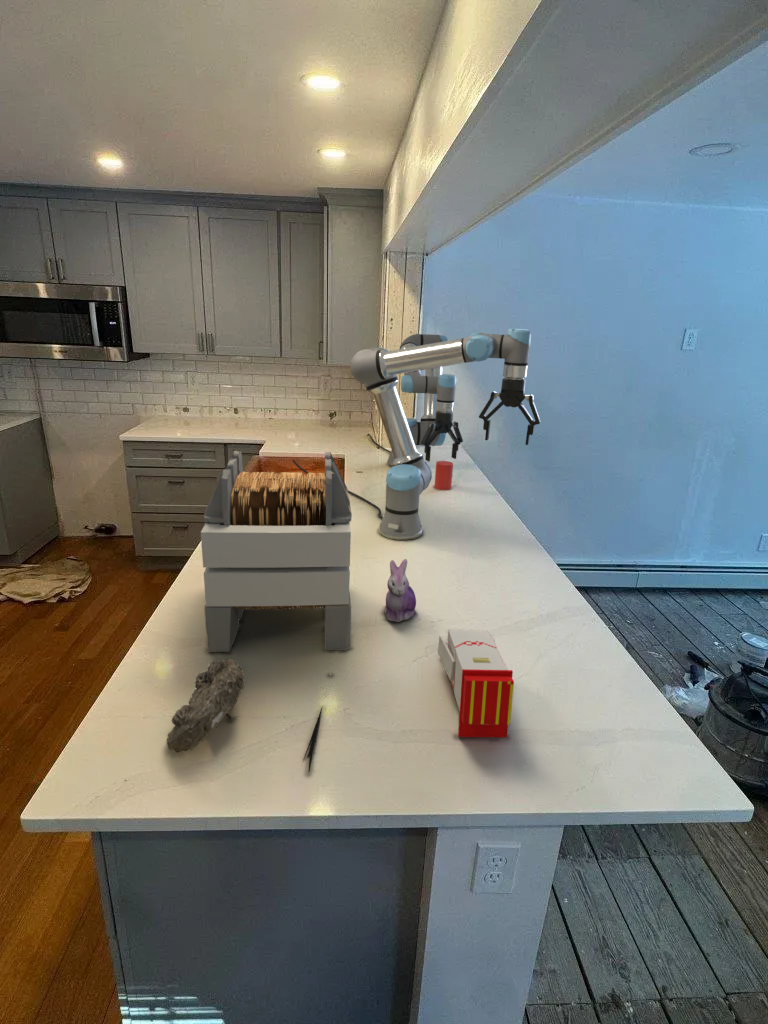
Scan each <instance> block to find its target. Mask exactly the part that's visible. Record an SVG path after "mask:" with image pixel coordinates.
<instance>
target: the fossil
mask: <svg viewBox="0 0 768 1024" xmlns="http://www.w3.org/2000/svg"><path fill="white" fill-rule="evenodd" d="M243 670H244V669H243V667H242V665H240V664H237V662H236V661H235V660H234V659H232V658H231V659H227V658H226V659H224V660H223V661H222V660H217V659H212V660H211V661H210V663H209V665H208V666H207V671H201V672H199V673H198V674H197V675H196V676H195V680H194V684H195V685H194V687H195V689H194V690H193V693H192V694H191V697H190V698H189V700H188V704H184V705H182V706H181V707H180V709H177V710H176V711H175V713H174V715H173V716H172V718H171V723H172V724H173V727H172V730H171V731H170V732H168V734H167V738H166V741H167V742H166V745H167V749H168V750H169V751H173V752H174V753H176V754H178V753H182V752H188V751H189V752H192V751H193V750H195V748H196V747H197V746H199V744H200V743H201V742H203V741H204V740H205V739H206V738H207V737H208V736H209V735H210V734H211V733H212V732H214V730H215V729H217V727H218V726H219V724H220V722H221V721H222V720H223V719H224V718H225V716H226V717H227V719H229V720H233V717H232V715H230V714H229V710H230V709H231V708H234V706H235V704H236V703H237V702H238V699H239V697H240V695H241V693H242V691H243V690H245V689H244V688H245V675H244V671H243Z"/></svg>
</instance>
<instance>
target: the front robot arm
mask: <svg viewBox="0 0 768 1024" xmlns="http://www.w3.org/2000/svg"><path fill="white" fill-rule="evenodd" d="M448 340H449V339H448ZM531 341H532V332H531V330H529V329H528V328H527V329H525V328H508V330H507V333H506V334H496V333H483V332H474V333H471V334H470V336H465V337H461V338H455V339H450V340H449V341H444V342H438V343H433V344H427V345H421V346H416V347H410V348H405V349H400V348H399V349H394V350H388V349H387V348H384V347H380V346H374V347H371V348H366V349H360V350H359V351H358V352H356V353H355V354H354V355H353V357H352V358H351V361H350V367H349V368H350V372H351V375H352V377H353V378H354V379H355V380H356V381H357V382H358V383H360V384H363V385H364V386H365V388H366V391H367V393H369V394H371V395H372V396H373V398H374V402H375V404H376V407H377V410H378V413H379V417H380V420H381V423H382V426H383V429H384V431H385V434H386V437H387V440H388V443H389V446H390V449H391V450H392V452H393V455H394V460H393V462H392V465H393V467H391V466H390V468H389V469H388V470H387V471H386V472H387V473H386V476H385V477H386V478H385V483H386V484H385V504H384V505H385V507H384V508H385V509H384V513H383V515H382V510H381V508H380V507H379V506H378V505H376V504H374V503H373V502H371V501H369V500H368V499H366V498H364V497H362V496H361V495H358V494H357V493H355V492H352V491H351V490H348V495H351V496H354V497H356V498H358V499H360V500H361V501H363V502H364V503H366V504H368V505H370V506H371V507H373V508H375V509H376V510H377V512H378V514H377V515H378V518H379V519H381V522H379V525H378V533H379V534H380V535H381V536H382V537H385V538H387V539H389V540H395V541H410V540H415V539H418V538H420V537H421V536H422V535H423V525H422V524H421V518H420V515H419V507H420V506H419V505H420V496H421V494H422V493H423V492H425V490H426V489H427V488H428V487H429V486H430V483H431V481H432V478H433V471H432V468H431V466H430V464H429V463H428V461H426V460H425V458H424V454H423V453H422V452H421V451H418V450H417V447H416V445H415V444H414V441H413V438H412V434H411V431H410V428H409V425H408V422H407V419H406V418H407V416H406V413H405V410H404V407H403V405H402V402H401V398H400V396H399V392H398V390H397V385H398V383H399V379H398V375H401V374H404V373H407V372H413V371H419V370H421V371H425V369H431V368H437V367H443V368H444V367H448V366H455V365H461V364H467V363H474V362H484V361H486V360H488V359H502V360H504V362H503V370H502V377H503V378H502V380H501V388H500V392H497V391H495V390H493V391H492V392H491V393H490V396H489V398H488V401H487V402H486V404H485V405H484V407H483V409H481V412H480V413H479V415H478V418H479V419H481V420H483V427H482V429H483V431H485V438H484V440H485V441H488V440H489V439H490V431H491V421H492V420H491V419H490V418H491V417H492V416H493V415H495V413H496V412H498V411H499V410H500V409H501V408H502V407H503V406H504V407H506V408H509V407H511V408H518V409H519V410H520V411H521V413H522V414H523V416H524V417H525V420H526V421H527V422H528V423H529V424H527V428H526V429H527V430H526V437H525V446H528V445H529V443H530V437H531V436H533V434H534V431H535V426H536V425H537V426H538V425H540V424H541V419H540V415H539V412H538V409H537V407H536V404H535V401H534V398H535V397H534V394H531V393H530V394H525V389H526V378H527V374H528V365H529V364H528V363H529V358H530V352H531V351H530V350H531ZM498 397H499V399H500V402H499V403H498V404H497V405H496V406H495V407H494V408H493V409H492V410H491V411H490V412H489V413H488V414H487V412H488V411H489V408H490V407H491V405H492V404H493V402H494V401H495V399H497V398H498ZM524 400H526V402H528V404H529V407H530V410H531V412H532V416H533V417H532V416H531V415H530V413H529V411H528V410H527V408H526V407H525V404H524V403H523V401H524ZM533 418H534V419H533ZM291 461H292V463H293V464H294V465H295V467H297V468H298V469H299V470H300V471H302V472H303V473H304V474H305V473H306V474H307V473H310V472H309V471H307V470H306V469H304V468H303V467H301V466H300V465H299V464H298V463H297V462H296V460H295V459H292V460H291Z"/></svg>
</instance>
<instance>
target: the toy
mask: <svg viewBox="0 0 768 1024" xmlns="http://www.w3.org/2000/svg"><path fill="white" fill-rule="evenodd" d="M446 640H447V643H446V641H445V639H444V636H443V635H442V634H439V637H438V646H437V656H438V657H439V659H440V661H441V663H442V666H443V668H444V670H445V672H446V674H447V677H448V679H449V681H450V684H451V687H452V690H453V693H454V697H455V701H456V705H457V708H458V711H459V714H458V715H459V716H458V730H457V731H458V732H457V737H458V738H508V731H509V726H510V725H511V717H512V707H513V697H514V696H513V695H514V684H515V680H514V679H513V673H514V671H513V670H512V669H508V667H507V665H506V662H505V661H504V659H503V658H502V655H501V653H500V651H499V649H498V647H497V643H496V639H495V637H494V635H493V634H491V632H490V631H489V629H467V628H466V629H465V628H463V629H461V628H460V629H459V628H448V630H447V639H446Z"/></svg>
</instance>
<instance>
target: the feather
mask: <svg viewBox="0 0 768 1024" xmlns="http://www.w3.org/2000/svg"><path fill="white" fill-rule="evenodd" d="M329 675H330V676H331V675H332V674H331V673H330V674H329ZM322 710H323V707H321V708H320V710H319V713H318V716H317V719H316V723H315V725H314V728H313V731H312V733H311V737H310V739H309V742H308V745H307V748H306V751H305V754H304V757H303V760H302V763H301V767H302V765H303V763H304V761H305V758H308V759H309V760H308V762H307V763H308V764H307V766H308V771H310V770H311V766H312V765H311V764H312V760H313V757H315V756H314V755H315V751H316V749H315V746H317V739H318V733H319V729H320V722H321V717H322V712H323V711H322ZM313 754H314V755H313ZM306 755H307V757H306Z"/></svg>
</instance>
